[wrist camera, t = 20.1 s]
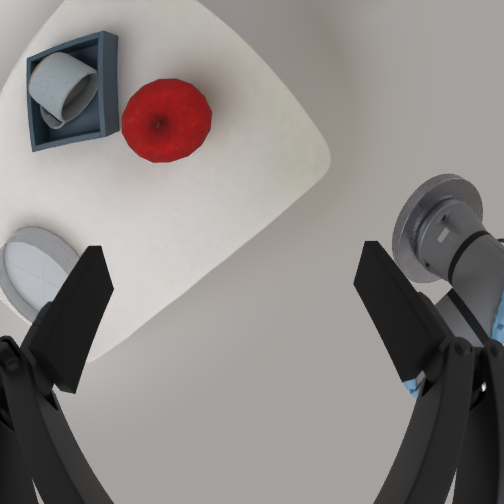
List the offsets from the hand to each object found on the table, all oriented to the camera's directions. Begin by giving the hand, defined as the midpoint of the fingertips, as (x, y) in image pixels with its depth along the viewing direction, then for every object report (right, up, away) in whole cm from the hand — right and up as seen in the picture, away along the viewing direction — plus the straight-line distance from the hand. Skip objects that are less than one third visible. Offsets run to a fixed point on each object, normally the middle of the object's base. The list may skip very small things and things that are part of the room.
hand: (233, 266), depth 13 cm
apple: (-9, +19, +19) cm, 28 cm away
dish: (-40, -4, +31) cm, 50 cm away
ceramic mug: (-24, +23, +14) cm, 36 cm away
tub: (-23, +23, +15) cm, 36 cm away
